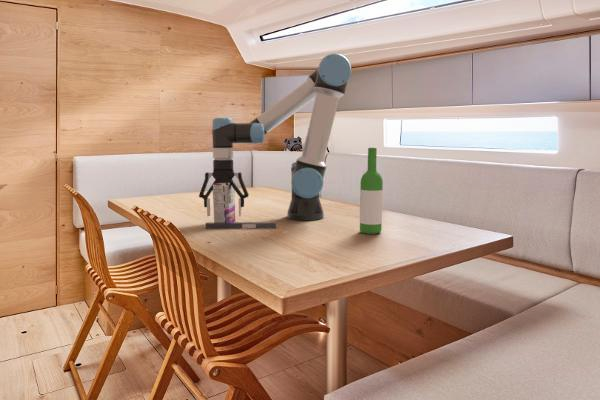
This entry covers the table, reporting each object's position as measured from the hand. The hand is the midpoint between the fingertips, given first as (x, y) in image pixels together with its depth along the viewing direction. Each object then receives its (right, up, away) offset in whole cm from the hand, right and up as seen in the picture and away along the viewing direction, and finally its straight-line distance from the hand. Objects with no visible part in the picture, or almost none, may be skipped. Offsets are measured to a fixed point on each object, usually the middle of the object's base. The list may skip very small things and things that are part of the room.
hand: (224, 215), depth 180 cm
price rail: (+7, -4, -7) cm, 11 cm away
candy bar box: (0, -4, +1) cm, 4 cm away
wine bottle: (+54, -6, -14) cm, 56 cm away
